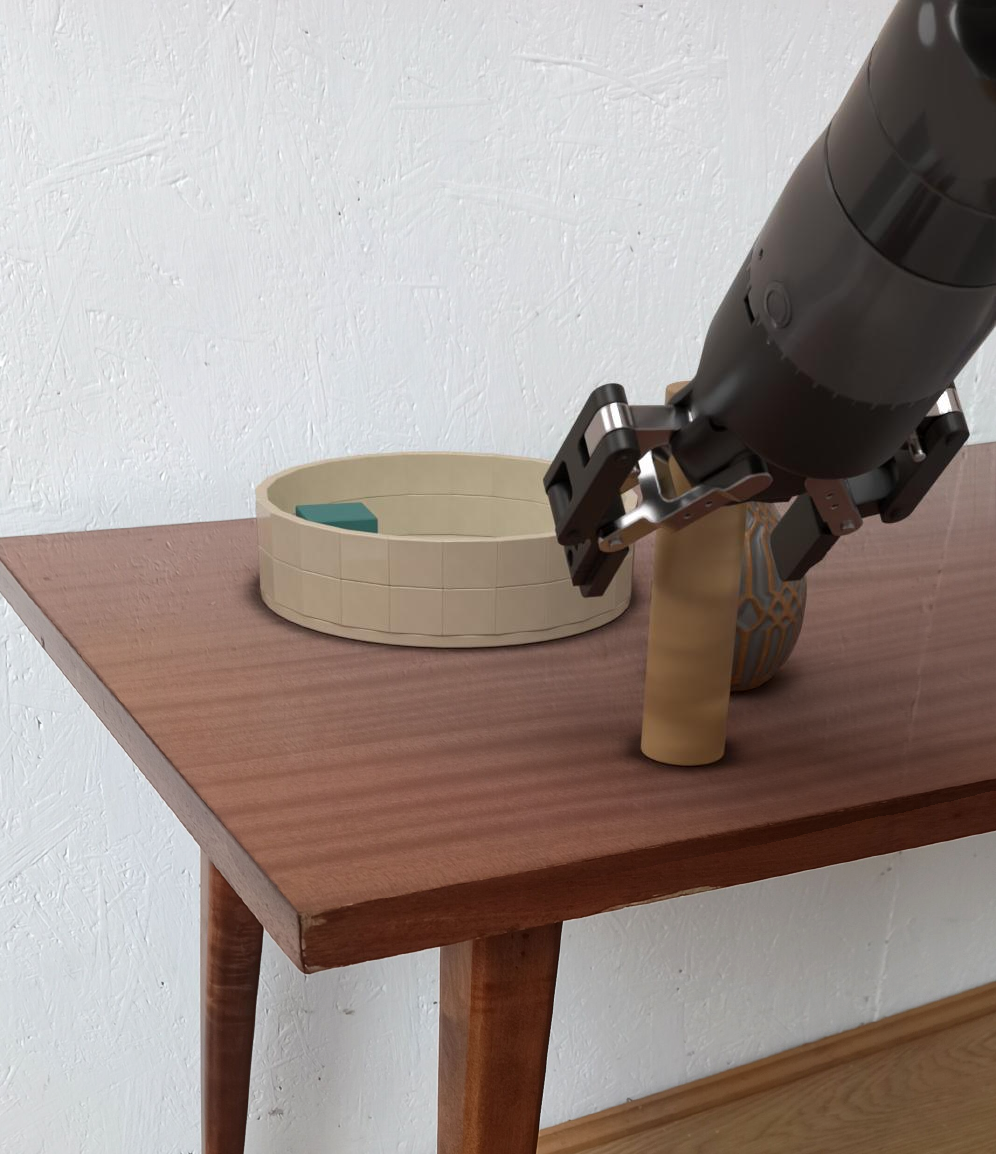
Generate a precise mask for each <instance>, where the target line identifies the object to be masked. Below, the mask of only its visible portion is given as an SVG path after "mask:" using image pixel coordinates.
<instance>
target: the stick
mask: <svg viewBox="0 0 996 1154" xmlns="http://www.w3.org/2000/svg"><path fill="white" fill-rule="evenodd" d="M690 381H691V380H682V381H675V382H672V383H669V384H667V385H666V386H665V391H664V392H665V393H664V405H666V404H667V402H668V400H669V399H670V398H671V397H672V396H673V395H674V394H675V393H676V392H678V391H679V390H680V389H682V388H683V387H684V386H686V385H687V384H688V383H689V382H690ZM669 468H670V472H671V476H672V480H673V483H674V487H675V491H676V495H677V497H678V496H680V495H682V494H683V493H685V492H687V491H689V490H690V489H692V488H691V486H690V484H689V483H688V481H687V479H686V477H685V476H684V474H683V472H682V471H681V469H680V467H679V465H678V464H677V462H676V460H675V459H674V457H673V455H672V454H671V456H670V459H669ZM747 508H748V502H746V503H741V504H736V505H732V506H722V507H720V508H718V509H716V510H715V511H713V512H711V513H709V514H708V515H706V516H704V517H702V518H701V519H699V520H697V521H695V522H694V523H692V524H690V525H688V526H687V527H685V528H683V529H681V530H680V531H678V532H675V533H671V532H668V531H666V530H665V529H663V528H658V529H656V530H655V534H654V535H655V536H654V537H655V538H654V549H653V550H654V553H653V564H652V578H653V579H651V583H652V593H651V608H650V607H649V623H648V624H649V625H648V638H647V651H646V666H645V667H646V669H645V682H644V695H643V699H644V700H643V709H642V710H643V711H642V724H641V738H640V739H641V741H640V751H641V753H643V755H645V756H646V757H647V758H649V759H651V760H654V761H656V762H658V763H663V764H666V765H668V764H669V765H673V766H685V767H689V766H690V767H691V766H692V767H694V766H704V765H708V764H712V763H715V762H717V761H718V760H721V758H723V756H724V754H725V746H726V736H727V726H728V725H727V724H728V714H729V704H730V695H731V691H730V685H731V675H732V664H733V654H734V643H735V633H736V622H737V612H738V602H739V591H740V581H741V570H742V560H743V550H744V539H745V529H746V518H747Z"/></svg>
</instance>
